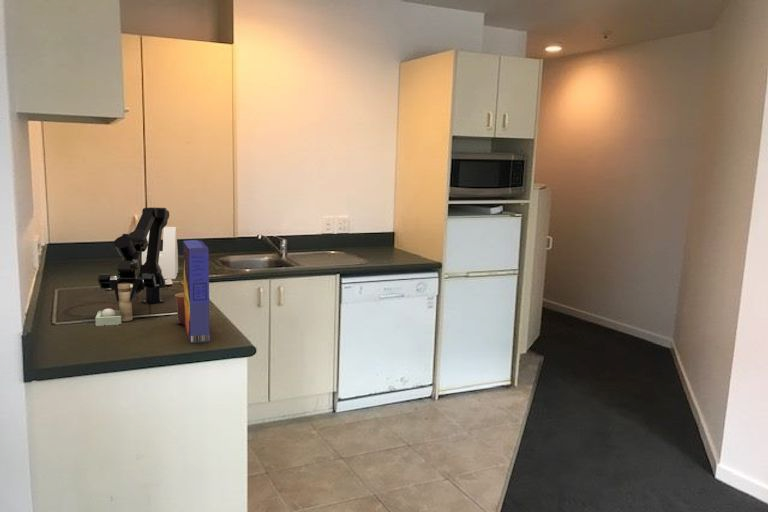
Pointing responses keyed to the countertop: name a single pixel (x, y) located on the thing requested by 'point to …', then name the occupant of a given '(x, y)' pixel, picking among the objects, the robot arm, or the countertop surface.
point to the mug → (180, 308)
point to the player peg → (125, 301)
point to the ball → (108, 313)
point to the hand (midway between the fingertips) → (124, 300)
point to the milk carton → (167, 254)
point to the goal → (108, 319)
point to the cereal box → (196, 291)
